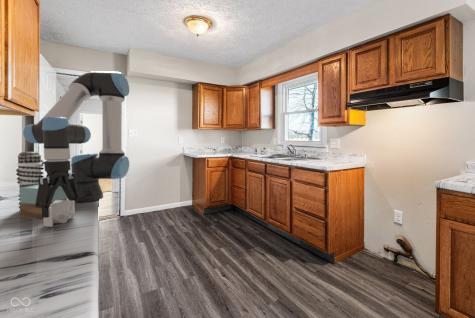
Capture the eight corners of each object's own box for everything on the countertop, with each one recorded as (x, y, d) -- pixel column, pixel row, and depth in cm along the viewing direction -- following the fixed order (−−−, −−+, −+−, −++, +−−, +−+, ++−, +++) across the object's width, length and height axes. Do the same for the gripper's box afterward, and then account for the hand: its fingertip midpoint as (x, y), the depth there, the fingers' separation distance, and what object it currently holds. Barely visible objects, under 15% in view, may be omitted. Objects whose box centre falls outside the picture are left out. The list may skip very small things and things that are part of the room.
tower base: (45, 211, 105) (44, 197, 105) (67, 212, 104) (66, 198, 104) (20, 218, 95) (19, 203, 95) (44, 220, 94) (44, 204, 93)
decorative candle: (50, 208, 109) (47, 151, 107) (24, 213, 101) (21, 152, 99) (39, 205, 113) (36, 151, 111) (14, 210, 105) (10, 152, 103)
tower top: (45, 197, 105) (45, 183, 105) (67, 198, 104) (66, 184, 103) (20, 203, 95) (19, 187, 95) (43, 204, 93) (42, 188, 93)
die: (51, 229, 84) (70, 205, 87) (32, 216, 85) (52, 192, 88) (66, 229, 92) (84, 207, 94) (49, 217, 93) (67, 195, 96)
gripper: (71, 158, 100) (74, 212, 102) (17, 162, 78) (21, 231, 80) (88, 158, 99) (91, 213, 101) (38, 163, 77) (42, 232, 79)
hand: (60, 221), depth 90 cm, fingers closed on die, 9 cm apart
